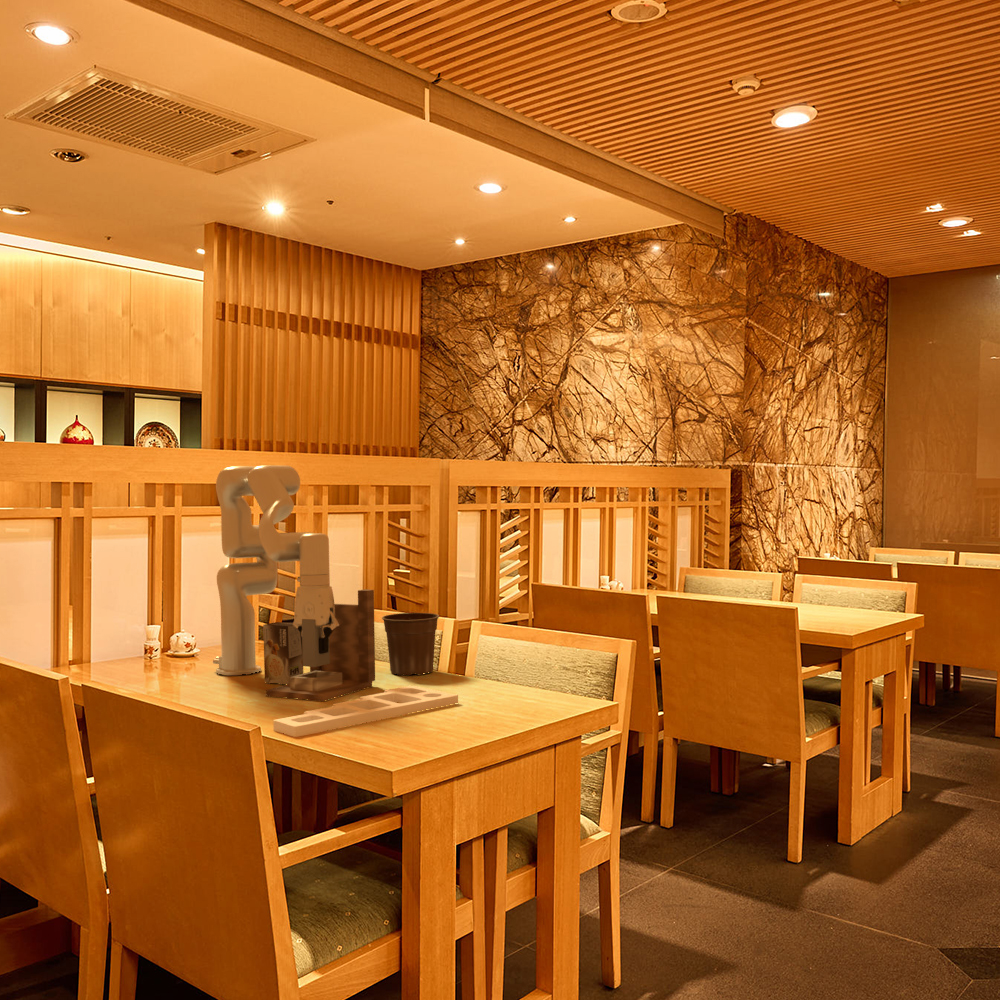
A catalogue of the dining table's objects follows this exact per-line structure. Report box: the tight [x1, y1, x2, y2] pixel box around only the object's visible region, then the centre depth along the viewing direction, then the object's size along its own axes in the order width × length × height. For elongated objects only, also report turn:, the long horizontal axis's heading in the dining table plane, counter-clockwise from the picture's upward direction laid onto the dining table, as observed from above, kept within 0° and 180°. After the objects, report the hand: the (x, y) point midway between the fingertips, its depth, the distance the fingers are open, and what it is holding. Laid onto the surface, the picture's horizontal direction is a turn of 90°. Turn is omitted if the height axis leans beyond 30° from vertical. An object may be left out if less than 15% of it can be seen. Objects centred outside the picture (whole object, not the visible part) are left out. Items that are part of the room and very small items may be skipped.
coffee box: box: [262, 621, 304, 685], centre depth 266 cm, size 9×6×16 cm
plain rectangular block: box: [302, 619, 330, 668], centre depth 251 cm, size 4×6×12 cm, turn 154°
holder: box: [272, 685, 459, 738], centre depth 225 cm, size 45×18×3 cm, turn 133°
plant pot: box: [381, 612, 440, 676], centre depth 278 cm, size 16×16×16 cm
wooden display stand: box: [265, 589, 376, 702], centre depth 253 cm, size 19×22×26 cm
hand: (316, 651), depth 251 cm, fingers closed on plain rectangular block, 4 cm apart
